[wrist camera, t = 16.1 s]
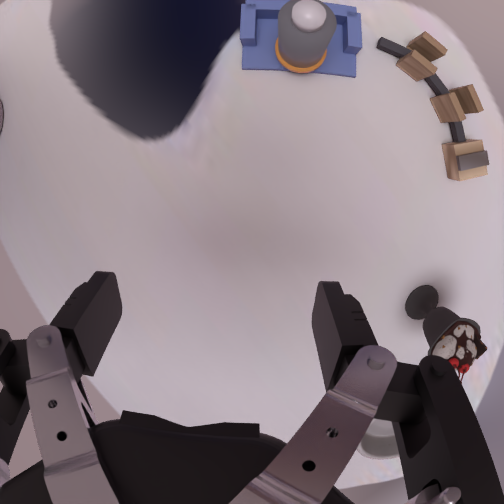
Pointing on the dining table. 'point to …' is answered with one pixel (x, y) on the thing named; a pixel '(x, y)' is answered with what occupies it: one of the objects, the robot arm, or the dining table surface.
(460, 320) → the sundae
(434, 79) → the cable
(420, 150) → the dining table surface
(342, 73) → the holder
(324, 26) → the grey piece
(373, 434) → the dog bowl
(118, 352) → the dining table surface
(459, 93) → the clip
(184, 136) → the dining table surface
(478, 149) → the tan wooden end block
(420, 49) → the clip
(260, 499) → the robot arm
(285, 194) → the dining table surface
